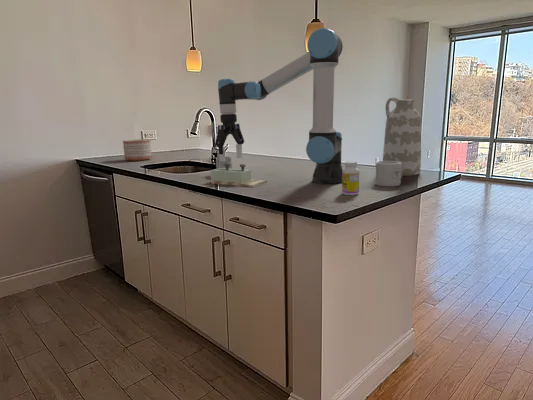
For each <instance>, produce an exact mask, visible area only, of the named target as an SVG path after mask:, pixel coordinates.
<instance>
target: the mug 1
mask: <svg viewBox="0 0 533 400" xmlns="http://www.w3.org/2000/svg"><path fill="white" fill-rule="evenodd" d="M225 159H226V161H220V155H219V152H217V156H216V160H215V161H216V162H215V167H216V168H215V169H219V168H226V166H224V164H225V163H230V166H229V169H233V161H232V156H225Z"/></svg>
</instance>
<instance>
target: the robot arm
mask: <svg viewBox="0 0 533 400" xmlns="http://www.w3.org/2000/svg"><path fill="white" fill-rule="evenodd" d="M343 45H344V44H343V41H342V38H340V36H339V35H338V34H336V33H335V31H334V30H332V29H330V28H326V27H321V28H318V29H316V30H314V31H313V32H312V33H311V34H310V35H309V37H308V40H307V51H308V52H306V53H305V54H302V55H301V56H299V57H297V58H296V59H294V60H293V61H291V62H289V63H288V64H286V65H284V66H282V67H281V68H279V69H277V70H276V71H274V72H273V73H270V74H268V75H267V76H265V77H264V78H262V79H260V80H258V81H243V82H235V79H233V78H221V79H219V80H218V81H217V84H218V85H217V87H218V88H217V91H218V101H219V103H218V105H219V113H220V123H221V124H218V125H217V129H218V130H217V134H216V138H215V143H214V146H215V147H216V148H218V153H219V155H220V161H226V159H225V157H226V149H225V146H224V145H225V143H226V140H227V138H228V136H229V135H231V136H232V137H233V139H234V141H235V142H236V144H235V150H236V152H235V153H236V158H238V159H241V158H243V146H242V145H243V144H244V143H245V139H244V136H243V133H242V131H241V127H240V126H241V125H240V123H237V121H238V120H237V119H238V118H237V114H236V113H237V105H236V101H239V100H241V101H243V100H254V101H255V100H256V101H262V100H264V99H266V98H267V96H268V95H271V94H272V93H273V92H275V91H277V90H279V89H280V88H282V87H284V86H286V85H289V84H290V83H292V82H293V81H295V80H297V79H299V78H300V77H301V76H304V75H305V74H307V73H308V72H311V71H313V74H312V75H313V83H312V85H313V86H312V88H313V89H312V127H311V129H310V130H309V131H308V142H307V144H306V148H305V152H306V155H307V157H308V159H309V160H310V161H312V162H313V163H315V168H314V171H313V173H312V182H313V183H317V184H340V183H341V184H342V170H343V169H344V168H343V166H342V142H343V141H342V140H343V138H342V136H343V135H342V133H341V132H340V131H337V130H336V129H335V128H334V95H335V94H334V93H335V69H336V68H337V66H338V65H339V57H340V56H341V55H342V52H343V48H344V47H343Z"/></svg>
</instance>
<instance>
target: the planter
mask: <svg viewBox="0 0 533 400" xmlns="http://www.w3.org/2000/svg"><path fill="white" fill-rule="evenodd" d="M122 145H123V154H124V155H123V156H124V160H127V161H128V162H145V161H148V160H150V159H151V158H152V150H151V149H152V147H151V139H147V138H145V139H144V138H138V139H126V140H125V139H124V140H122ZM144 160H145V161H144Z"/></svg>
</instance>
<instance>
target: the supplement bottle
mask: <svg viewBox="0 0 533 400" xmlns="http://www.w3.org/2000/svg"><path fill="white" fill-rule="evenodd" d="M342 169H343V170H342V182H341V193H342V194H343V195H345V196H357V195H359V193H360V169H359V168H358V162H357V161H354V160H352V161H351V160H349V161H344V168H342Z"/></svg>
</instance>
